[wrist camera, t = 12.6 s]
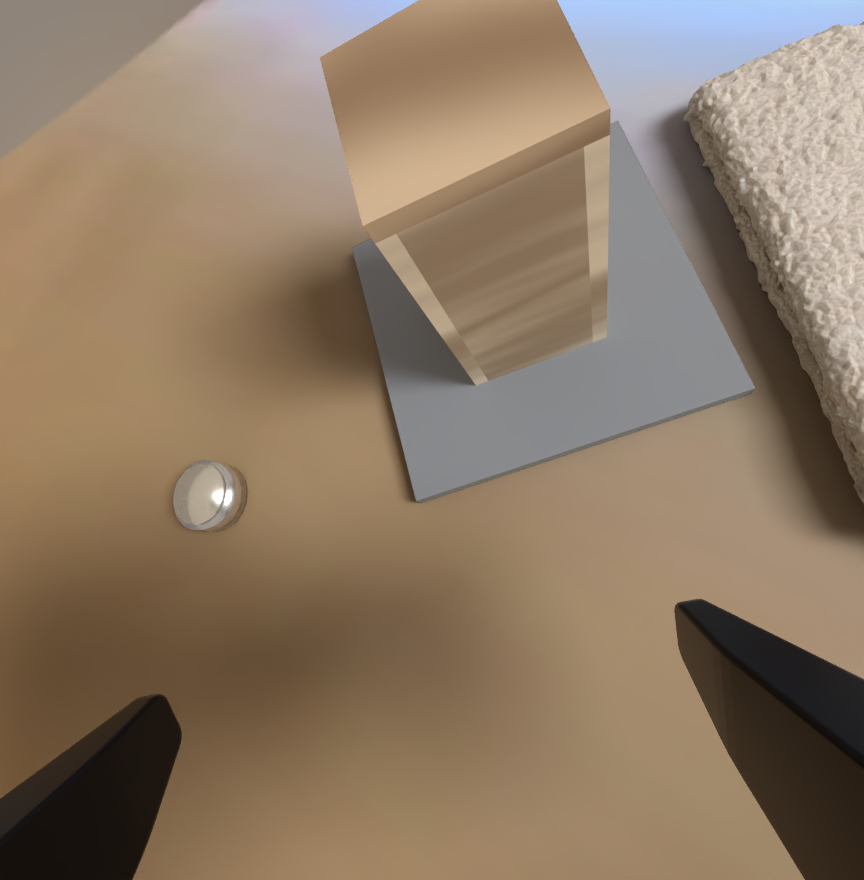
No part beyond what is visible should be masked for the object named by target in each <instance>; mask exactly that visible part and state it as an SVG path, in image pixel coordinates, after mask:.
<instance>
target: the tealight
mask: <svg viewBox="0 0 864 880" xmlns="http://www.w3.org/2000/svg"><path fill="white" fill-rule="evenodd" d="M246 501H247V485H246V481H245V479H244V477H243V475H242V474H241V472H240V471H239V470H237V469H236V468H235V467H232V466H230V465H226V464H222V463H218V462H215V461H210V460H203V461H199V462H197V463H194V464H193V465H191V466H190V467H189V468H187V469H186V470H185V471H184V473H183V474H182V475H181V477H180V478H179V480H178V482H177V484H176V487H175V490H174V495H173V506H174V511H175V514H176V517H177V519H178V520H179V521H180V523H181V524H182V525H184V526H185V527H187V528H189V529H192V530H202V531H214V532H216V531H222V530H225V529H227V528H229V527H230V526H232V525H233V524H234V523H235V522H236V521H237V520H238V519H239V517H240V516H241V514H242V512H243V510H244V508H245V505H246Z"/></svg>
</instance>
